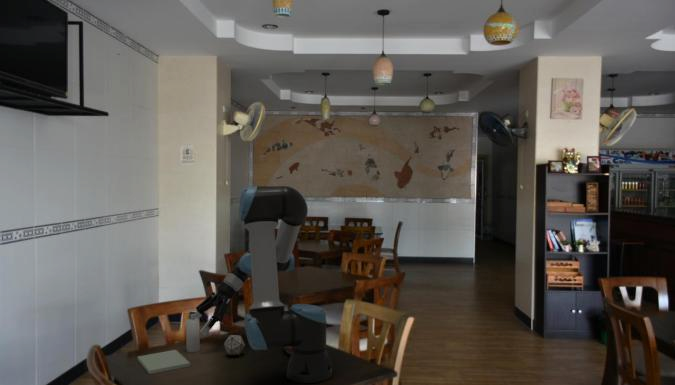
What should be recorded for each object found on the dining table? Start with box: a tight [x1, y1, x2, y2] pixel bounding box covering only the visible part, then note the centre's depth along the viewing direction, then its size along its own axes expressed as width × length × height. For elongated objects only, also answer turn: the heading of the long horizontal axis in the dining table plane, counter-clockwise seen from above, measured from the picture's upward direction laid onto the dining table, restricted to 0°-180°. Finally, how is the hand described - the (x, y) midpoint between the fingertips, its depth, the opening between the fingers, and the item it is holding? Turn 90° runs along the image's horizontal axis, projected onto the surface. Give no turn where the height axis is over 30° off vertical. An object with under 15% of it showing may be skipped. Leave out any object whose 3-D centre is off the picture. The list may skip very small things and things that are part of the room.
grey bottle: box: [185, 313, 201, 353], centre depth 203 cm, size 5×5×14 cm
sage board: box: [137, 349, 191, 375], centre depth 189 cm, size 18×14×1 cm
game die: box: [221, 333, 248, 358], centre depth 196 cm, size 9×8×10 cm
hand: (195, 330), depth 205 cm, fingers open, 13 cm apart
